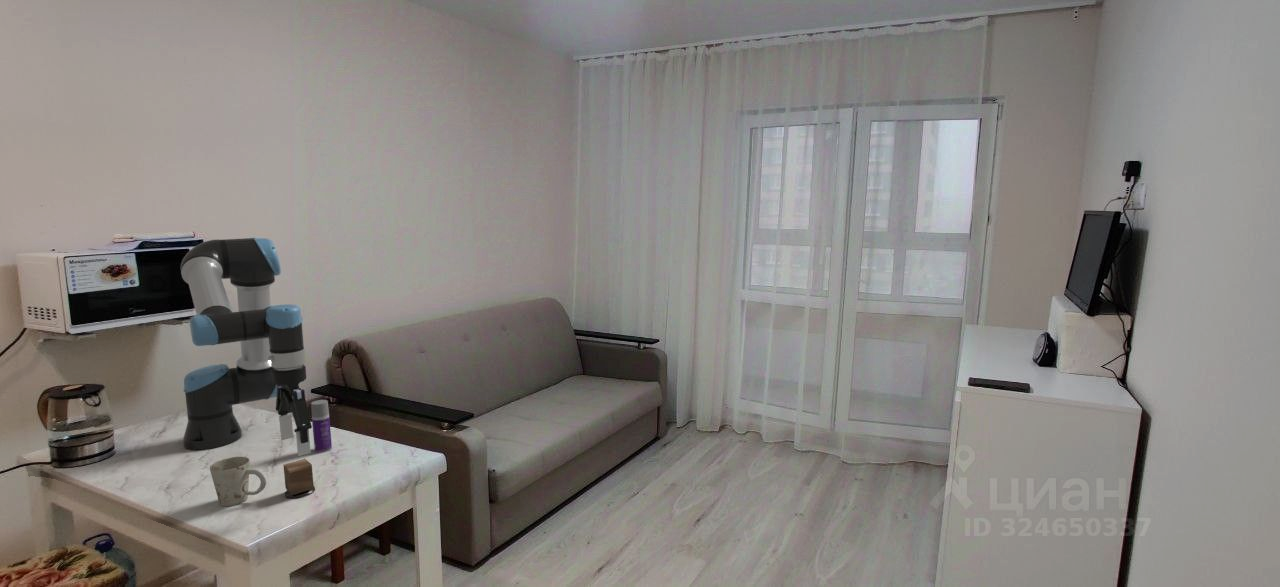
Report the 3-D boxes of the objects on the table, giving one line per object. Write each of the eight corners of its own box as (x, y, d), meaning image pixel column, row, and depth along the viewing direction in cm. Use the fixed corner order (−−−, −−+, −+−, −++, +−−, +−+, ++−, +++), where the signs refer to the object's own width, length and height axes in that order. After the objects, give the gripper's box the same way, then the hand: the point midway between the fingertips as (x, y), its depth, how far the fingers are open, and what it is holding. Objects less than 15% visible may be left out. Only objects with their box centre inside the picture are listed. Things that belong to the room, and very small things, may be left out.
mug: (226, 493, 160) (222, 457, 159) (276, 491, 161) (273, 455, 160) (206, 509, 152) (202, 471, 150) (260, 507, 153) (256, 469, 151)
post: (280, 492, 161) (278, 466, 160) (309, 483, 166) (307, 458, 165) (289, 501, 156) (286, 475, 155) (318, 492, 161) (316, 466, 160)
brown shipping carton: (285, 488, 161) (283, 464, 160) (307, 482, 164) (305, 458, 163) (291, 495, 157) (289, 470, 156) (313, 488, 161) (311, 464, 160)
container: (324, 453, 185) (320, 405, 183) (311, 451, 186) (306, 404, 184) (335, 447, 190) (331, 400, 188) (322, 445, 191) (318, 399, 188)
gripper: (257, 359, 162) (265, 436, 165) (287, 380, 144) (295, 465, 148) (289, 354, 167) (295, 428, 170) (321, 373, 150) (328, 456, 153)
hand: (295, 446), depth 159 cm, fingers open, 13 cm apart
